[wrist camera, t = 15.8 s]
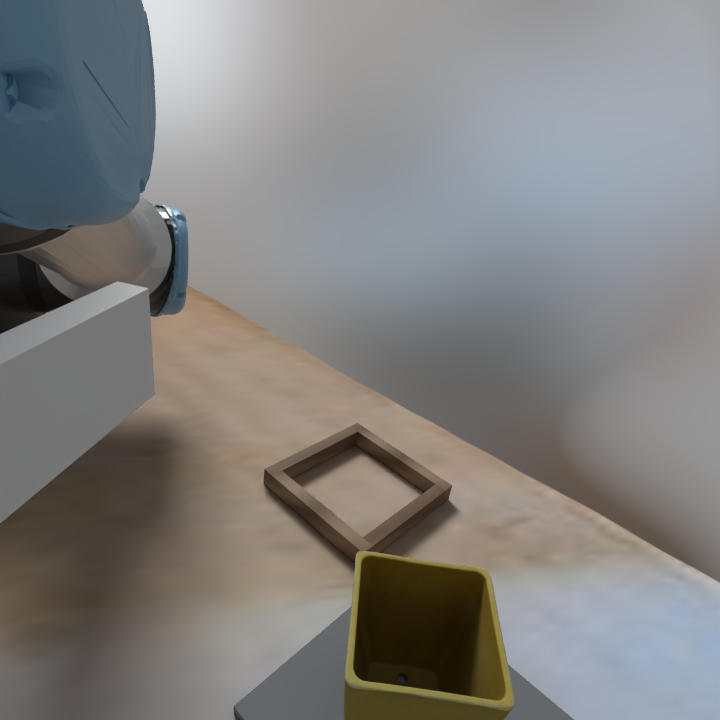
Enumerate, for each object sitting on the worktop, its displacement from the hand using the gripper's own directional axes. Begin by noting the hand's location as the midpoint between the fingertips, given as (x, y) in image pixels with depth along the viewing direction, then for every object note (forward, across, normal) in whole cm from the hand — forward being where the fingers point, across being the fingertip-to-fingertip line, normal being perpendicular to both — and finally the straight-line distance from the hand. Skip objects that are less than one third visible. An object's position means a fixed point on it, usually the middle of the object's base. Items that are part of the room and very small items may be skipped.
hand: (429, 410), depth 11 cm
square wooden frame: (+30, -5, -30) cm, 43 cm away
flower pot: (+11, +3, -30) cm, 32 cm away
